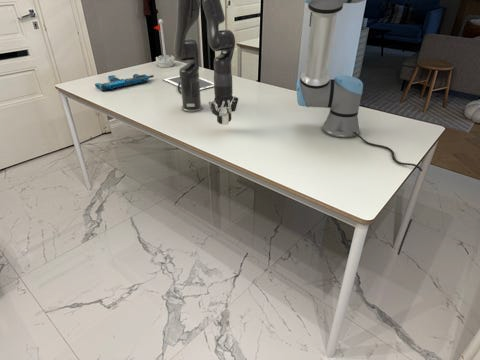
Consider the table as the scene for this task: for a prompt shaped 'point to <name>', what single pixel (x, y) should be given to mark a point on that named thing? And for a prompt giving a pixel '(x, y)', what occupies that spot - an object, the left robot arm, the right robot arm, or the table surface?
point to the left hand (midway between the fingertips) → (224, 122)
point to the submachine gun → (122, 81)
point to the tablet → (203, 82)
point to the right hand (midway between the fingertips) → (316, 28)
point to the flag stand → (165, 60)
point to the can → (225, 118)
